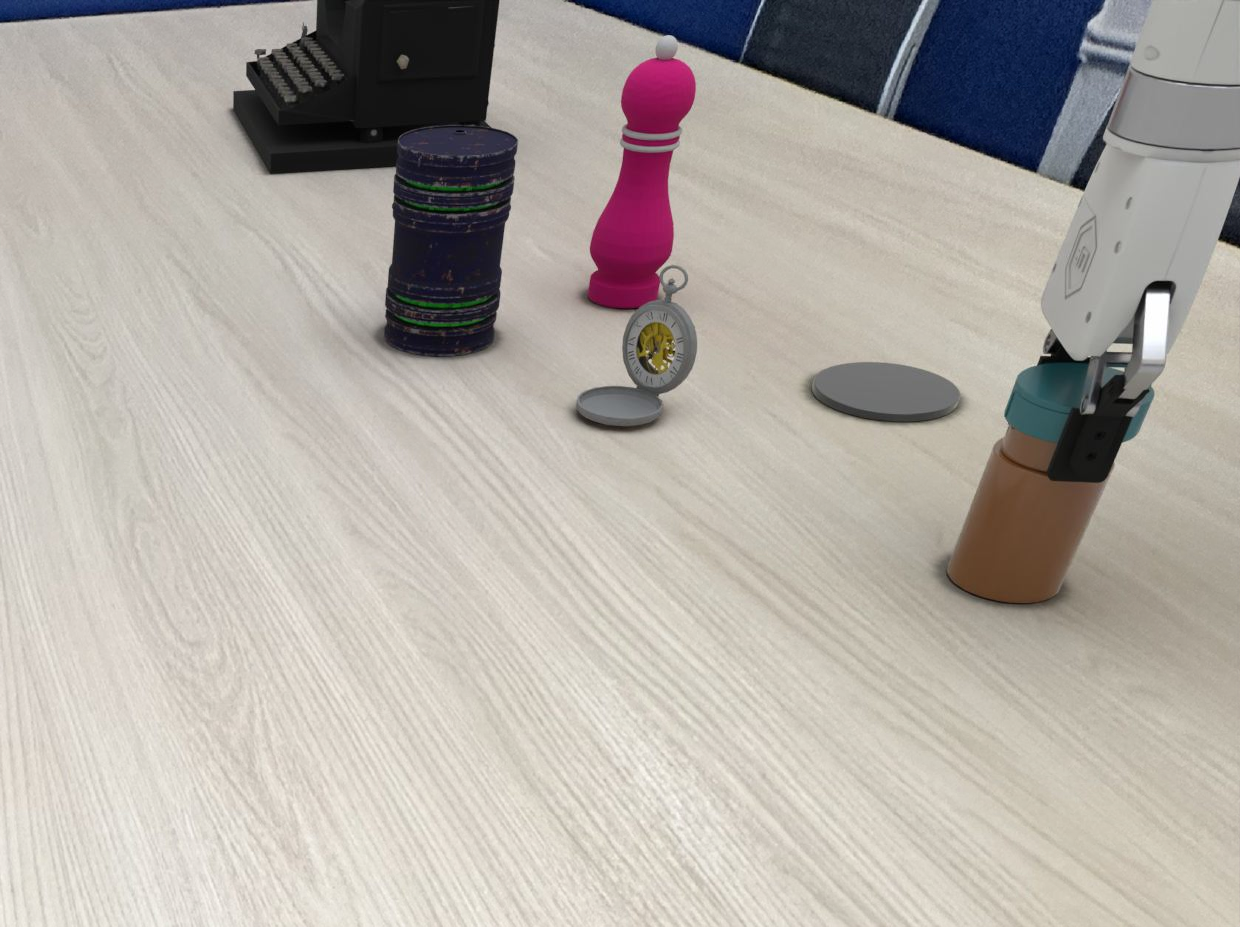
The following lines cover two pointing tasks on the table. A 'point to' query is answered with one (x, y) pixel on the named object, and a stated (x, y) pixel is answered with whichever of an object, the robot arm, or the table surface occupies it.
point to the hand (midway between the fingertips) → (1059, 449)
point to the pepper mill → (642, 183)
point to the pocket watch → (647, 362)
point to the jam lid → (1057, 399)
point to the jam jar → (1022, 524)
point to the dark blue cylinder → (448, 238)
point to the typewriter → (368, 81)
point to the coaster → (885, 391)
